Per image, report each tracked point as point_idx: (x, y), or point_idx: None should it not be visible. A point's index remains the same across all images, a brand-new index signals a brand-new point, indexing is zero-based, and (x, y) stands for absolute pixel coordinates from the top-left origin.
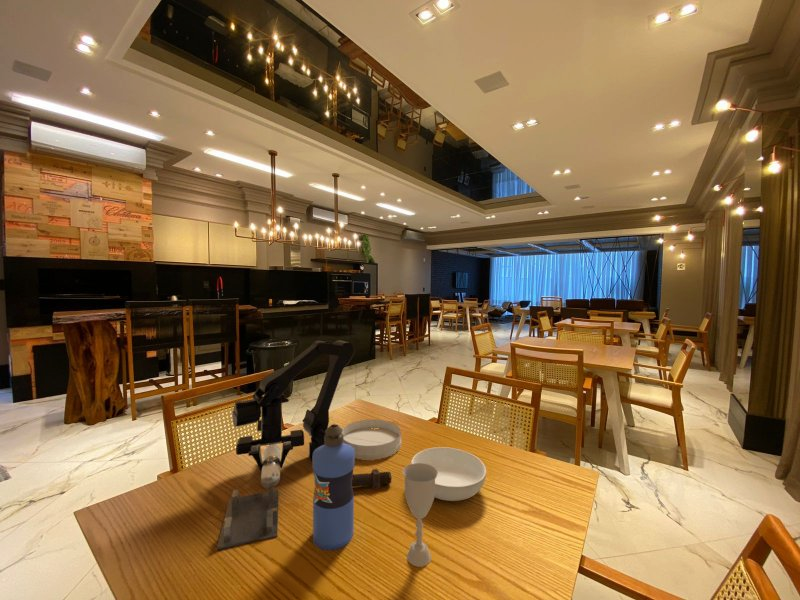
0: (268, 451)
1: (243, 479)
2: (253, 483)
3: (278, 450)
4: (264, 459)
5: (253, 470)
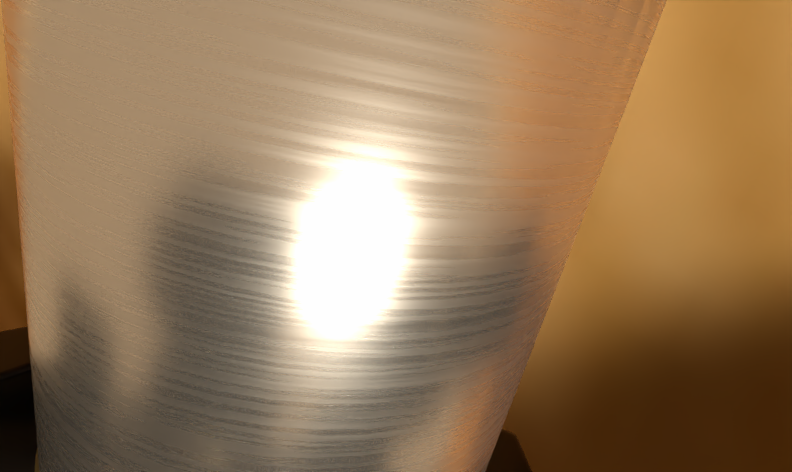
0: (38, 193)
1: (5, 266)
2: None
3: (549, 118)
4: (37, 452)
5: None
